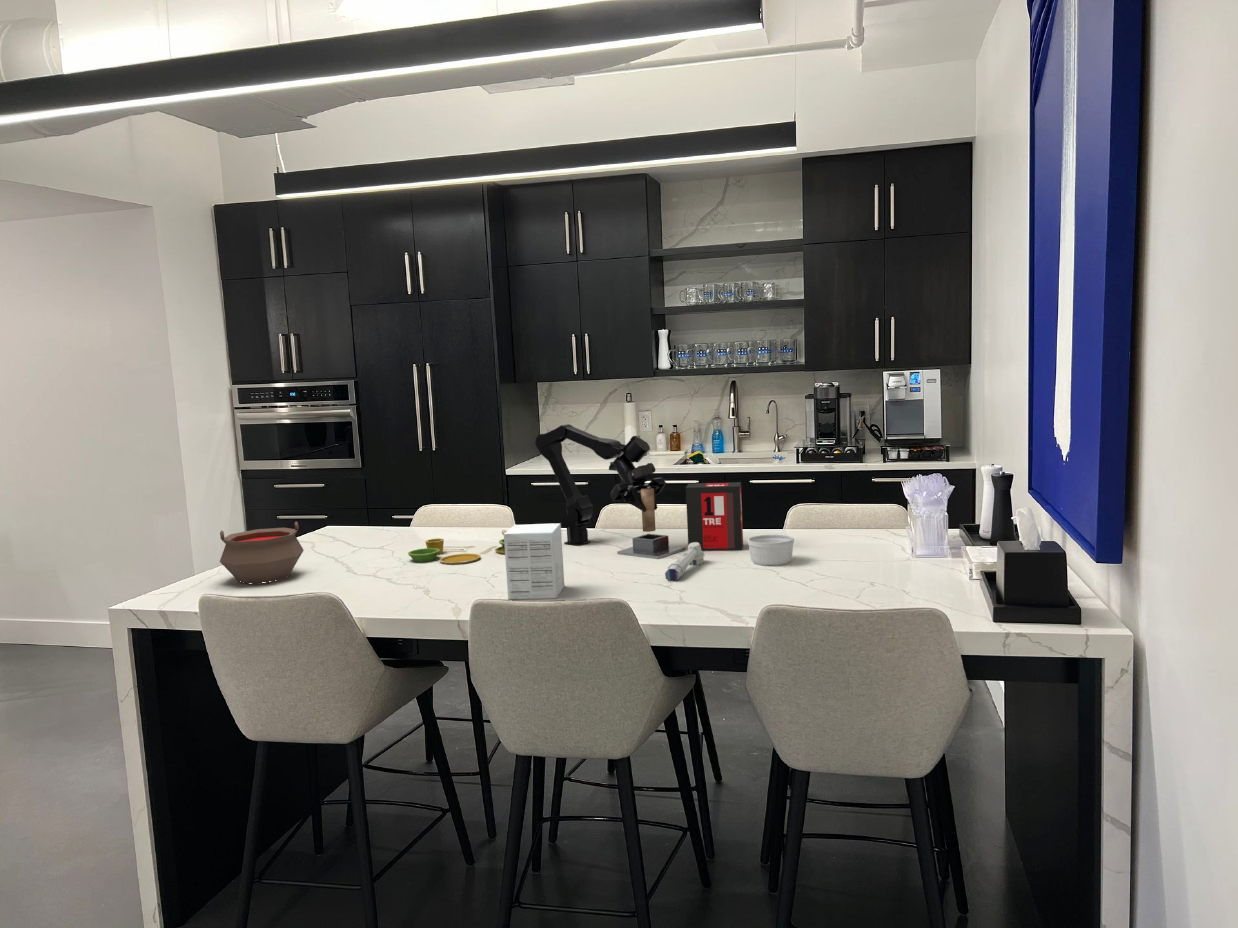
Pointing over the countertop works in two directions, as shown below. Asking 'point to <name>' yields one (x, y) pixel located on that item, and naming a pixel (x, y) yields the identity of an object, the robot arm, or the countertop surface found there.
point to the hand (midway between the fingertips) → (650, 510)
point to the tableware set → (437, 547)
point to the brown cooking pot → (261, 554)
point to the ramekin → (771, 549)
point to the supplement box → (534, 561)
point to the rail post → (648, 510)
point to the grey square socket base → (651, 547)
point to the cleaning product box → (715, 516)
